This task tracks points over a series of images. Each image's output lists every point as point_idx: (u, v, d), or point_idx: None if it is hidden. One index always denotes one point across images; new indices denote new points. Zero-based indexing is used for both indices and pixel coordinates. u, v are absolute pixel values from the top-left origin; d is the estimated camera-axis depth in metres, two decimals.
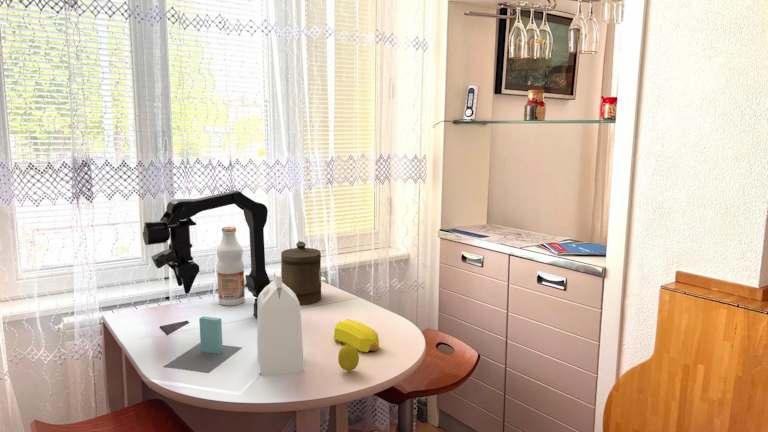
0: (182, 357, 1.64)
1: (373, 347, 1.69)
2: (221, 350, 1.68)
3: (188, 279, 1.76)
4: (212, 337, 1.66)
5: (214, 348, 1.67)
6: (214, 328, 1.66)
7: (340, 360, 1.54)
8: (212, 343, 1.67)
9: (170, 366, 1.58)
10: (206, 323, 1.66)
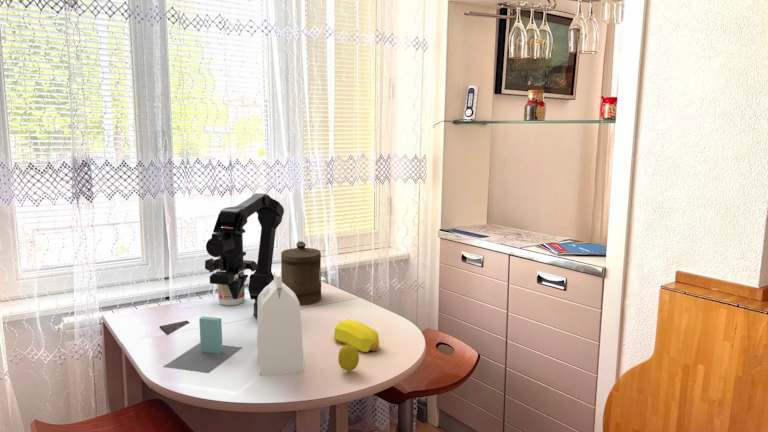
0: (182, 357, 1.64)
1: (373, 347, 1.69)
2: (221, 350, 1.68)
3: (233, 285, 1.78)
4: (212, 337, 1.66)
5: (214, 348, 1.67)
6: (214, 328, 1.66)
7: (340, 360, 1.54)
8: (212, 343, 1.67)
9: (170, 366, 1.58)
10: (206, 323, 1.66)
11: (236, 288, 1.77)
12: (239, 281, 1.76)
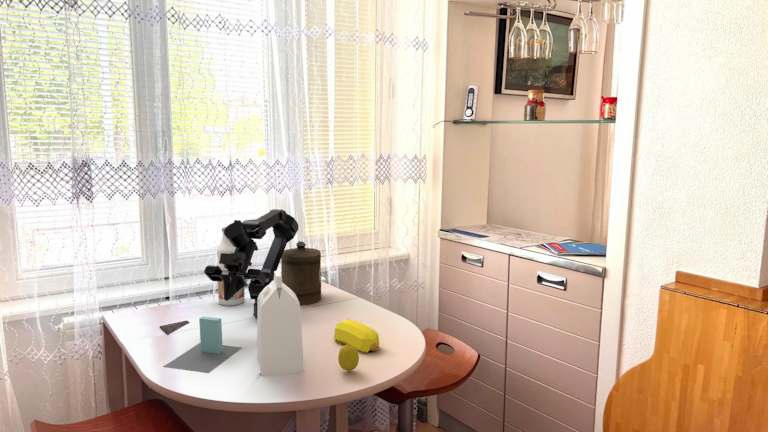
0: (182, 357, 1.64)
1: (374, 347, 1.69)
2: (221, 350, 1.68)
3: (235, 287, 1.77)
4: (212, 337, 1.66)
5: (214, 348, 1.67)
6: (214, 328, 1.66)
7: (340, 360, 1.54)
8: (212, 343, 1.67)
9: (170, 366, 1.58)
10: (206, 323, 1.66)
11: (236, 291, 1.77)
12: None
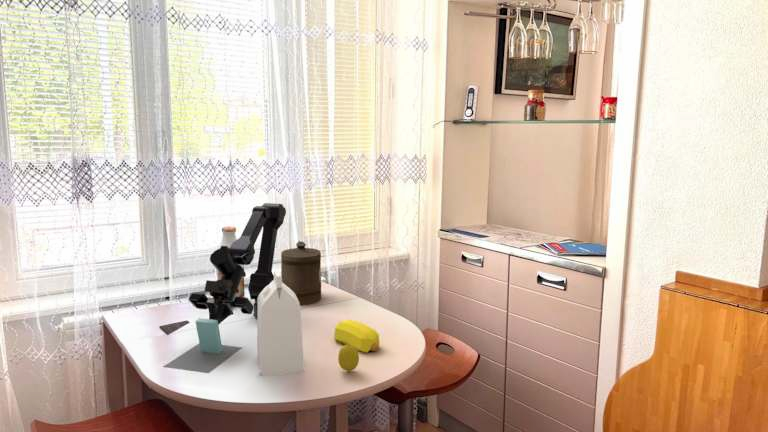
0: (182, 357, 1.64)
1: (374, 347, 1.69)
2: (221, 349, 1.67)
3: (221, 316, 1.70)
4: (210, 338, 1.65)
5: (213, 348, 1.66)
6: (211, 330, 1.64)
7: (340, 360, 1.54)
8: (211, 344, 1.66)
9: (170, 366, 1.58)
10: (203, 326, 1.65)
11: (222, 319, 1.70)
12: None
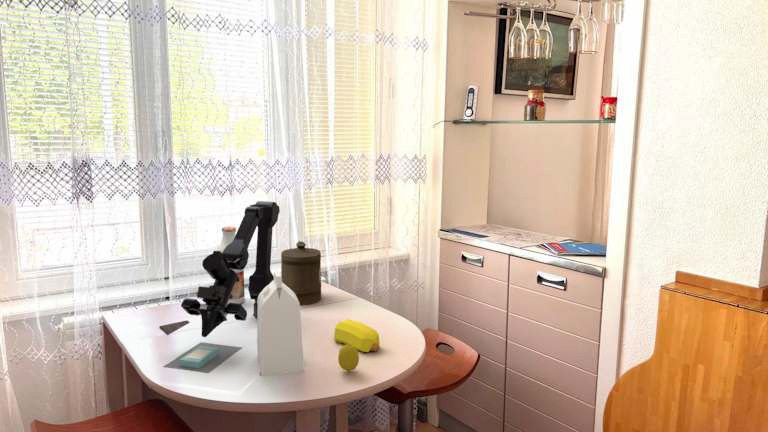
0: None
1: (374, 347, 1.69)
2: (217, 350, 1.66)
3: (214, 322, 1.66)
4: None
5: None
6: None
7: (340, 360, 1.54)
8: None
9: (170, 366, 1.58)
10: None
11: (215, 326, 1.66)
12: None
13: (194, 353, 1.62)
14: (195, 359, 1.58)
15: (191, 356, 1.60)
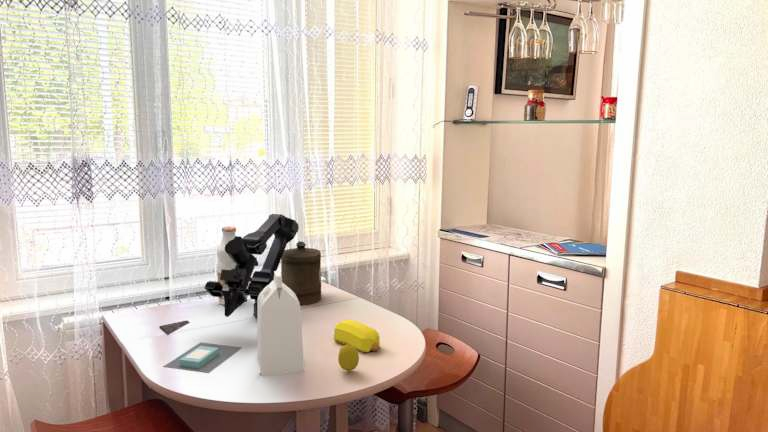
0: None
1: (374, 347, 1.69)
2: (217, 350, 1.66)
3: (236, 303, 1.77)
4: None
5: None
6: None
7: (340, 360, 1.54)
8: None
9: (170, 366, 1.58)
10: None
11: (237, 307, 1.78)
12: None
13: (194, 353, 1.62)
14: (195, 359, 1.58)
15: (191, 356, 1.60)
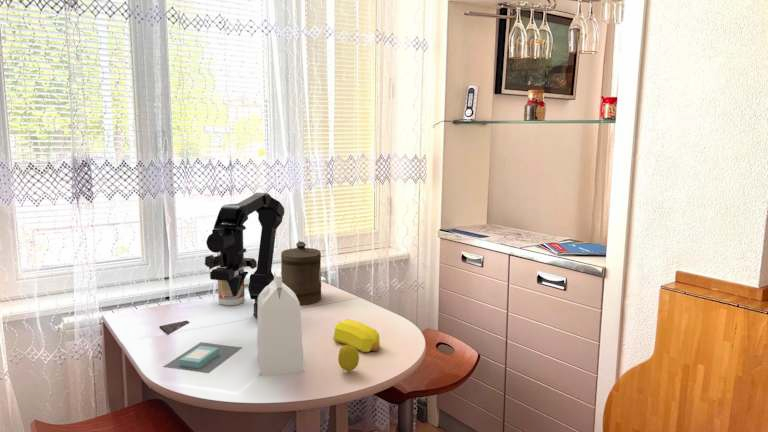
0: None
1: (375, 347, 1.69)
2: (217, 350, 1.66)
3: (233, 282, 1.77)
4: None
5: None
6: None
7: (340, 360, 1.54)
8: None
9: (170, 366, 1.58)
10: None
11: (236, 285, 1.77)
12: (239, 278, 1.76)
13: (194, 353, 1.62)
14: (195, 359, 1.58)
15: (191, 356, 1.60)
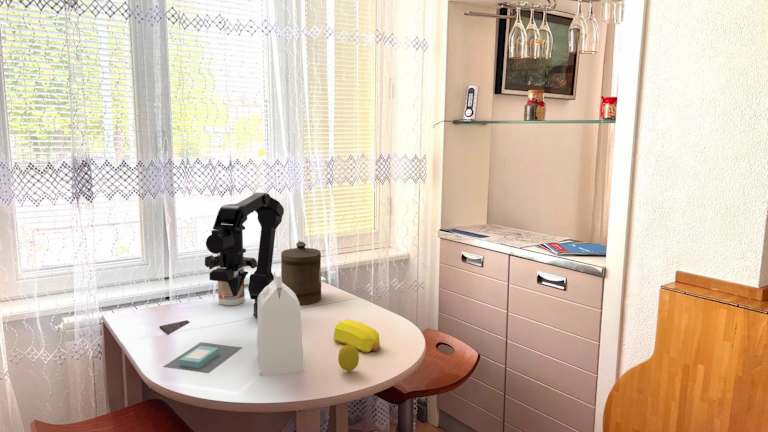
0: None
1: (375, 347, 1.69)
2: (217, 350, 1.66)
3: (233, 282, 1.77)
4: None
5: None
6: None
7: (340, 360, 1.54)
8: None
9: (170, 366, 1.58)
10: None
11: (236, 285, 1.77)
12: (239, 278, 1.76)
13: (194, 353, 1.62)
14: (195, 359, 1.58)
15: (191, 356, 1.60)
